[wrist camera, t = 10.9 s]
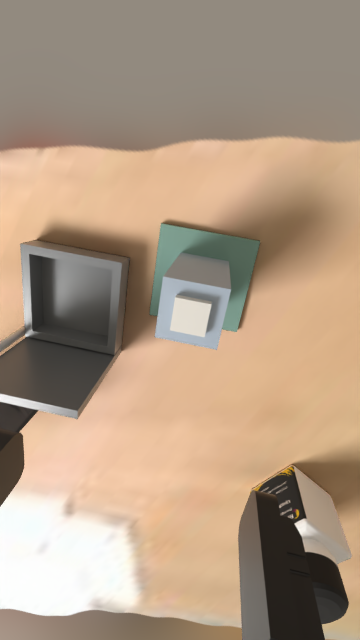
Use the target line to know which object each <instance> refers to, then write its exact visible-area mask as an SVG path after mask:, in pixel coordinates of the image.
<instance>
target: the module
mask: <svg viewBox="0 0 360 640" xmlns="http://www.w3.org/2000/svg"><path fill="white" fill-rule="evenodd" d="M230 292H231V281H230V268H229V261H225V260H219V259H214V258H209V257H203V256H198V255H192V254H187V253H182V252H181V253H180V254H179V256H178V257H177V258H176V260H175V261H174V262H173V264H172V265H171V267H170V268H169V269H168V271H167V272H166V273H165V275H164V276H163V281H162V289H161V296H160V303H159V310H158V317H157V324H156V332H155V337H157V338H162V339H167V340H171V341H176V342H181V343H186V344H191V345H196V346H201V347H206V348H211V349H215V350H217V347H218V343H219V339H220V335H221V330H222V326H223V322H224V318H225V313H226V309H227V305H228V301H229V296H230Z"/></svg>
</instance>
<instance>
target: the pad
mask: <svg viewBox="0 0 360 640" xmlns="http://www.w3.org/2000/svg"><path fill="white" fill-rule="evenodd" d="M259 245H260V241H258V240H252V239H247V238H241V237H236V236H230V235H225V234H219V233H214V232H208V231H202V230H197V229H191V228H186V227H180V226H175V225H169V224H164V223H161V228H160V236H159V243H158V251H157V259H156V267H155V275H154V283H153V291H152V298H151V306H150V314H149V315H154V316H158V310H159V303H160V296H161V289H162V281H163V276H164V275H165V273H166V272H167V271H168V269H169V268H170V267H171V265H172V264H173V262H174V261H175V260H176V258H177V257H178V256H179V254H180V253H181V252H182V253H187V254H192V255H198V256H203V257H209V258H214V259H219V260H225V261H229V268H230V281H231V292H230V296H229V301H228V305H227V309H226V313H225V318H224V322H223V326H222V329H224V330H229V331H234V332H237V329H238V326H239V322H240V318H241V314H242V310H243V306H244V303H245V299H246V295H247V291H248V287H249V283H250V279H251V276H252V272H253V268H254V264H255V260H256V256H257V252H258V249H259Z"/></svg>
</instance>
